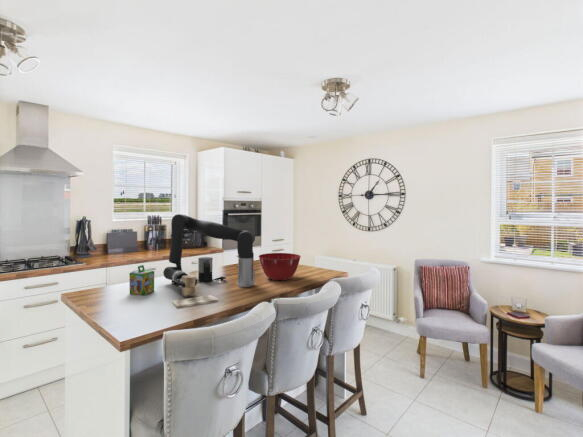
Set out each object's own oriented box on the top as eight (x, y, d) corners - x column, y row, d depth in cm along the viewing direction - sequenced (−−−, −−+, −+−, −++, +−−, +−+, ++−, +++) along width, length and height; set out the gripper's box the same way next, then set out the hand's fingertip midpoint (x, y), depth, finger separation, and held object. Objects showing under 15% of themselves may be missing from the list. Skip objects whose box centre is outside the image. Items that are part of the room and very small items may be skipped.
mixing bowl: (249, 277, 209) (250, 254, 208) (281, 271, 228) (282, 251, 227) (276, 286, 188) (277, 261, 187) (308, 279, 207) (309, 256, 207)
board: (211, 296, 163) (211, 294, 163) (217, 301, 156) (218, 299, 156) (172, 303, 151) (172, 300, 151) (177, 308, 144) (177, 306, 144)
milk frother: (195, 280, 196) (195, 257, 195) (217, 277, 206) (217, 255, 206) (205, 285, 185) (205, 261, 185) (228, 281, 196) (228, 258, 195)
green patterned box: (143, 295, 162) (144, 268, 162) (128, 294, 164) (128, 266, 163) (155, 291, 171) (155, 264, 171) (140, 289, 173) (140, 263, 172)
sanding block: (191, 292, 167) (191, 274, 167) (194, 295, 162) (195, 276, 162) (181, 294, 164) (182, 275, 164) (185, 297, 159) (185, 278, 159)
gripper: (167, 273, 170) (175, 279, 156) (193, 270, 179) (203, 276, 165) (167, 286, 171) (175, 294, 157) (193, 283, 179) (203, 289, 165)
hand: (190, 284), depth 161 cm, fingers closed on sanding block, 5 cm apart
